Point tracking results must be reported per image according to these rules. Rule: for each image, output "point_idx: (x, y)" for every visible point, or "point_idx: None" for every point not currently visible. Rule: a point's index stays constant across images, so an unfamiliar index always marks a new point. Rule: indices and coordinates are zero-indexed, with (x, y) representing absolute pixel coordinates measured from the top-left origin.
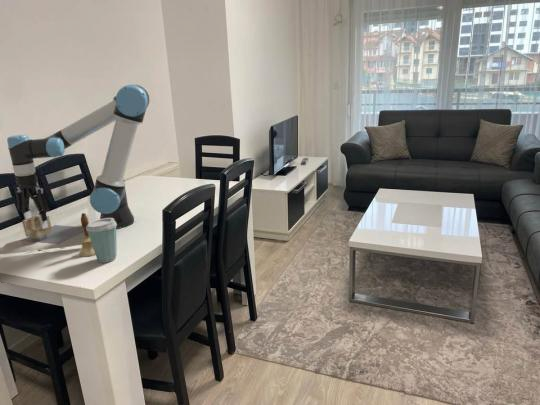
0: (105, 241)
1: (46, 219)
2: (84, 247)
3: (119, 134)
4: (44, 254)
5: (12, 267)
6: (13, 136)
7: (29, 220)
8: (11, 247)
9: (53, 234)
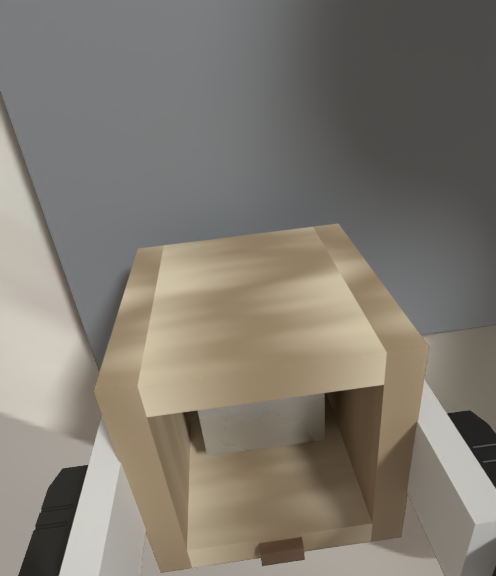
0: None
1: (479, 429)
2: None
3: None
4: (471, 405)
5: (409, 531)
6: None
7: (293, 559)
8: None
9: (285, 167)
